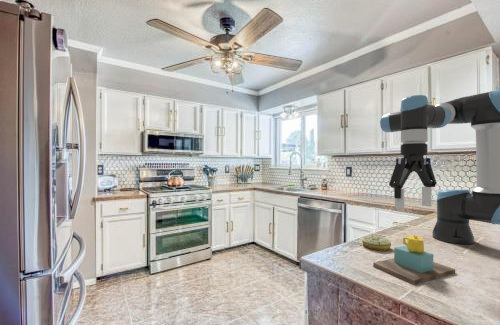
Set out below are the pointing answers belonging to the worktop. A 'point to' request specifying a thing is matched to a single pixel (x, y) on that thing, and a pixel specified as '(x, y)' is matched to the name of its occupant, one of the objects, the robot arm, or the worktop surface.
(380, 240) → the decorated donut
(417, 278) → the walnut board
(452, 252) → the worktop surface
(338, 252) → the worktop surface
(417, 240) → the teapot
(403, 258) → the base brick
